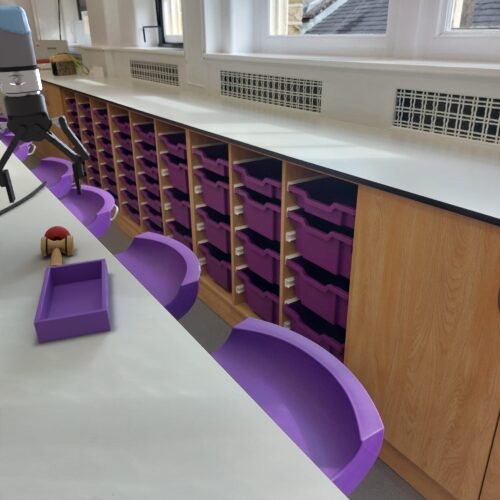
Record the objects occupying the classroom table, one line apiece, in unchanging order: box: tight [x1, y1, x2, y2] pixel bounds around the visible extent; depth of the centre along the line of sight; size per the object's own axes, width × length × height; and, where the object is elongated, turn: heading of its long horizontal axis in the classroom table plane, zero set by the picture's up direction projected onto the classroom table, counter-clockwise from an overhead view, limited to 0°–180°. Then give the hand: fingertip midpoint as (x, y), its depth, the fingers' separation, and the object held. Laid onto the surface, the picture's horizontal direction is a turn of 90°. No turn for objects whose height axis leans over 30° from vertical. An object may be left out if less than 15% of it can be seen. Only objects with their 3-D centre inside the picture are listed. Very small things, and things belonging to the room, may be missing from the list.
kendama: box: [40, 225, 74, 267], centre depth 111 cm, size 8×6×18 cm
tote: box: [33, 258, 112, 344], centre depth 91 cm, size 22×12×5 cm, turn 16°
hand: (46, 197), depth 104 cm, fingers open, 13 cm apart
